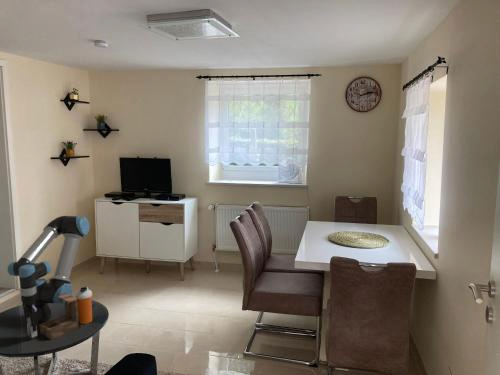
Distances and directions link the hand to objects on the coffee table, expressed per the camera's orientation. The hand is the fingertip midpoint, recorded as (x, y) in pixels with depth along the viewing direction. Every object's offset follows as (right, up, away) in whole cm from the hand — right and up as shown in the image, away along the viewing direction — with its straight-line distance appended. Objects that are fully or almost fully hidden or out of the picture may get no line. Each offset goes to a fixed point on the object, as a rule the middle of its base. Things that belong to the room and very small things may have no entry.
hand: (32, 335), depth 222 cm
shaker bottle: (+21, +1, +19) cm, 28 cm away
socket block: (+11, 0, +8) cm, 14 cm away
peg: (0, -2, 0) cm, 2 cm away
